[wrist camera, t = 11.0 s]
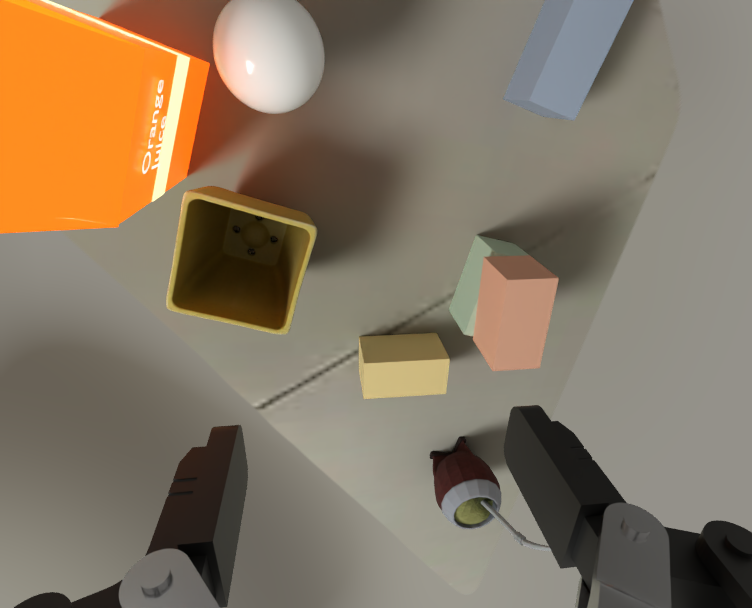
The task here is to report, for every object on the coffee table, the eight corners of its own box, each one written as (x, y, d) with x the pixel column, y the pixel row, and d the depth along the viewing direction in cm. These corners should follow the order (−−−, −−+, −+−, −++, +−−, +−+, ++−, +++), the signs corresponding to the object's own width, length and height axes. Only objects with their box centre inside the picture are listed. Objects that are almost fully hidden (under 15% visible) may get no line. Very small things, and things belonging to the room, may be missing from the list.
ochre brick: (358, 368, 46) (363, 398, 41) (358, 335, 44) (364, 363, 40) (433, 364, 47) (445, 393, 42) (436, 332, 45) (449, 358, 41)
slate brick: (549, -12, 33) (586, -27, 29) (592, 11, 34) (634, -1, 30) (502, 99, 36) (528, 100, 32) (542, 116, 37) (574, 120, 33)
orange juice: (82, 143, 33) (-181, 205, 16) (96, 15, 30) (-217, -91, 12) (189, 178, 35) (64, 269, 18) (213, 63, 32) (89, 31, 14)
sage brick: (476, 234, 41) (496, 252, 36) (514, 243, 42) (538, 261, 37) (448, 309, 44) (463, 334, 40) (484, 316, 45) (503, 341, 40)
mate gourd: (418, 474, 54) (453, 602, 40) (438, 425, 50) (483, 545, 37) (473, 479, 55) (524, 604, 42) (496, 432, 52) (559, 550, 39)
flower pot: (212, 165, 35) (183, 188, 27) (318, 198, 37) (319, 227, 29) (194, 264, 39) (164, 310, 31) (292, 288, 41) (287, 337, 33)
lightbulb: (332, 96, 34) (340, 98, 24) (254, 118, 34) (230, 130, 24) (306, 0, 31) (303, -40, 21) (221, 25, 31) (179, -5, 21)
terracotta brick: (483, 256, 36) (507, 280, 32) (529, 255, 37) (558, 278, 32) (472, 339, 40) (492, 370, 35) (514, 337, 40) (539, 368, 36)
